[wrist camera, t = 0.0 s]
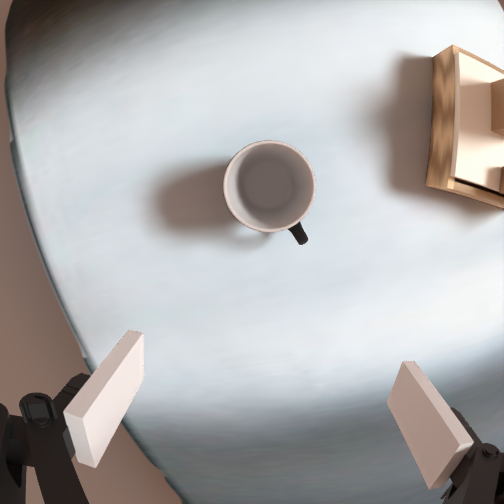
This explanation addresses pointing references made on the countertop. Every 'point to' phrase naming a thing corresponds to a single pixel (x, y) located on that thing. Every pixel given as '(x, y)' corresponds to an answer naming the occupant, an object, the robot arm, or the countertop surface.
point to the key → (502, 181)
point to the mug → (270, 188)
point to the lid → (478, 123)
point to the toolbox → (451, 132)
